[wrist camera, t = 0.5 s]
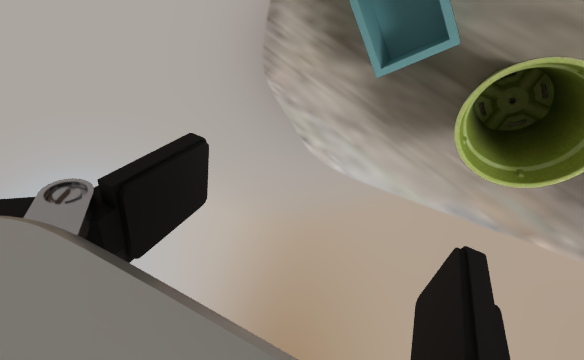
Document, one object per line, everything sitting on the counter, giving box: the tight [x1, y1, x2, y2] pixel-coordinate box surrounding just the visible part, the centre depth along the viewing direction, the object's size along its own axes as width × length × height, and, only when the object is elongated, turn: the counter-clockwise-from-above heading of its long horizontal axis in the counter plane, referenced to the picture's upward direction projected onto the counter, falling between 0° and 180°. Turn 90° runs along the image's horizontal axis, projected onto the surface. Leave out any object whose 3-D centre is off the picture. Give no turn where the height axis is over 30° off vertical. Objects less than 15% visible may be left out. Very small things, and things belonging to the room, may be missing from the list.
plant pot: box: [454, 57, 584, 188], centre depth 24 cm, size 9×9×9 cm
